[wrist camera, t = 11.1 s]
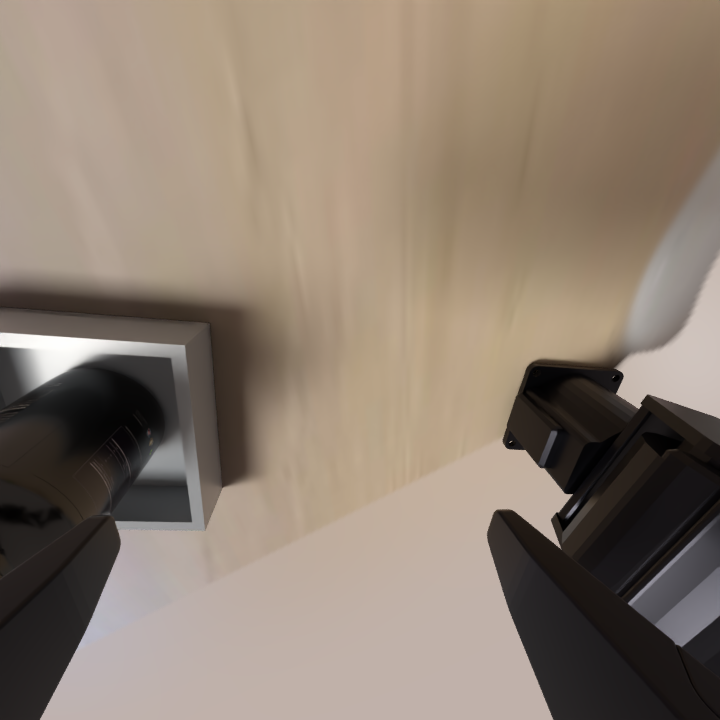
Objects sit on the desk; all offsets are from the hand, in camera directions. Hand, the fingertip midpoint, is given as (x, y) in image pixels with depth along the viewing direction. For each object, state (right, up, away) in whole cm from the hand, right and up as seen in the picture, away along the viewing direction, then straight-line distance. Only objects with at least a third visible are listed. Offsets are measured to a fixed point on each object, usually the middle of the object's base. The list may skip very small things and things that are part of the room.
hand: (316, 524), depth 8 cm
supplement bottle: (-14, +1, +12) cm, 19 cm away
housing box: (-14, +1, +13) cm, 19 cm away
